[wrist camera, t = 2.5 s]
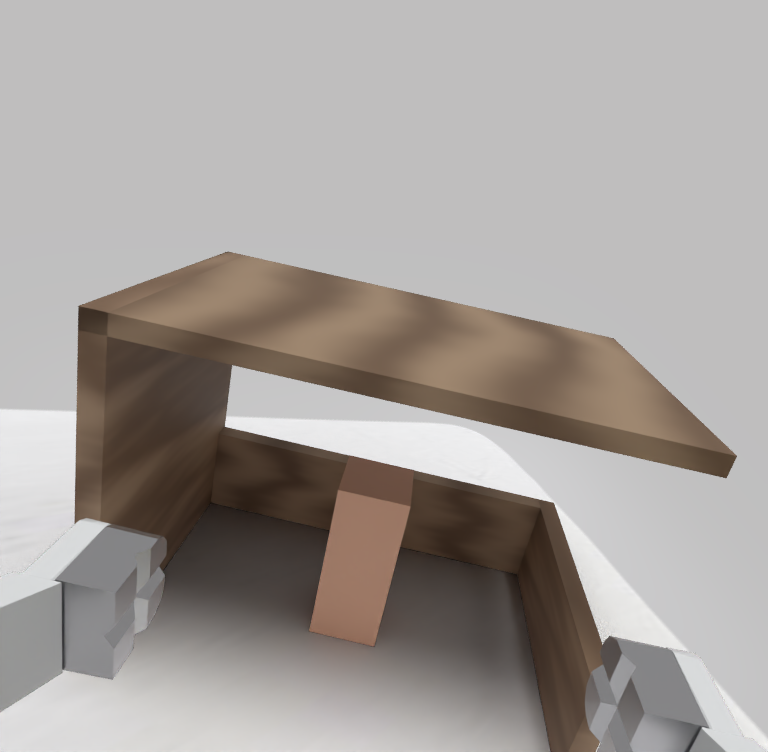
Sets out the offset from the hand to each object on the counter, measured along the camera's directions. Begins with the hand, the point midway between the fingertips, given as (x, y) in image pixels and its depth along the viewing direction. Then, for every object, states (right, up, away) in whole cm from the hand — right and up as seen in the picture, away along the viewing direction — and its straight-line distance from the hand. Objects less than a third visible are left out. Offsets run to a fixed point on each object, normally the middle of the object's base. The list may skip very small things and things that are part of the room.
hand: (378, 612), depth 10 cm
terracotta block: (-2, -11, +26) cm, 28 cm away
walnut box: (-2, -10, +27) cm, 29 cm away
